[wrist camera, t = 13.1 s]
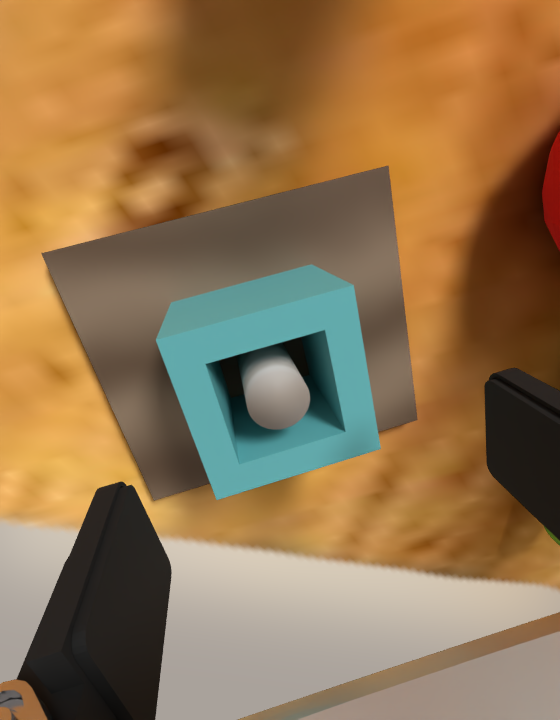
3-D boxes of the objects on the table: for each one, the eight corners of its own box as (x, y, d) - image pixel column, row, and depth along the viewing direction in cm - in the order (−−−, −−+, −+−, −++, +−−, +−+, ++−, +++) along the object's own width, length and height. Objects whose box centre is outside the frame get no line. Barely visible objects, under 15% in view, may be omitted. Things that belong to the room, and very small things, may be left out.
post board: (49, 251, 18) (-39, 272, 12) (379, 167, 19) (467, 145, 13) (156, 489, 23) (136, 595, 17) (409, 412, 24) (482, 483, 18)
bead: (171, 302, 19) (155, 340, 13) (311, 264, 19) (353, 285, 14) (214, 425, 21) (216, 500, 16) (336, 389, 22) (380, 448, 16)
